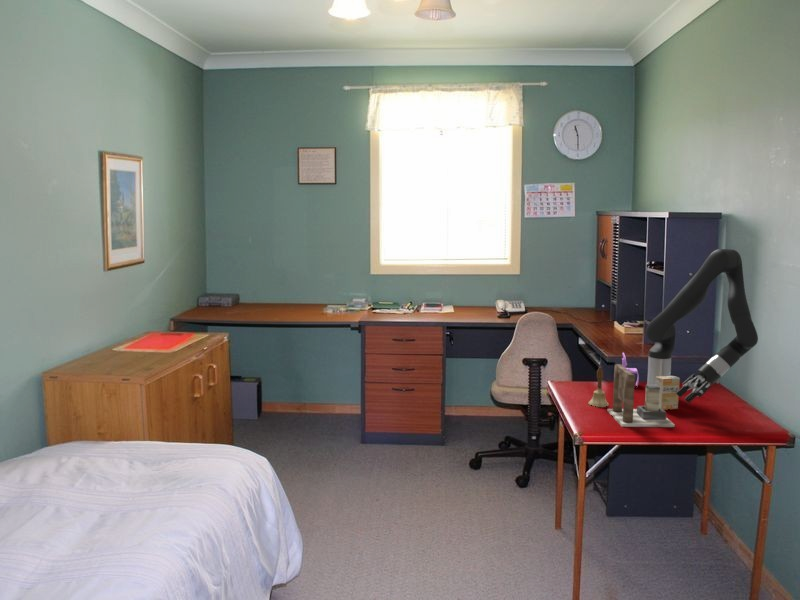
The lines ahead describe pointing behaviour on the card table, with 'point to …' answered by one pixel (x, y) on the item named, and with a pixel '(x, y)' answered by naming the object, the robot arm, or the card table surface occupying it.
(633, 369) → the toy chair
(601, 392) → the hand bell
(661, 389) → the supplement box
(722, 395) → the card table surface
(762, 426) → the card table surface
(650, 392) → the rail post
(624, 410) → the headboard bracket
